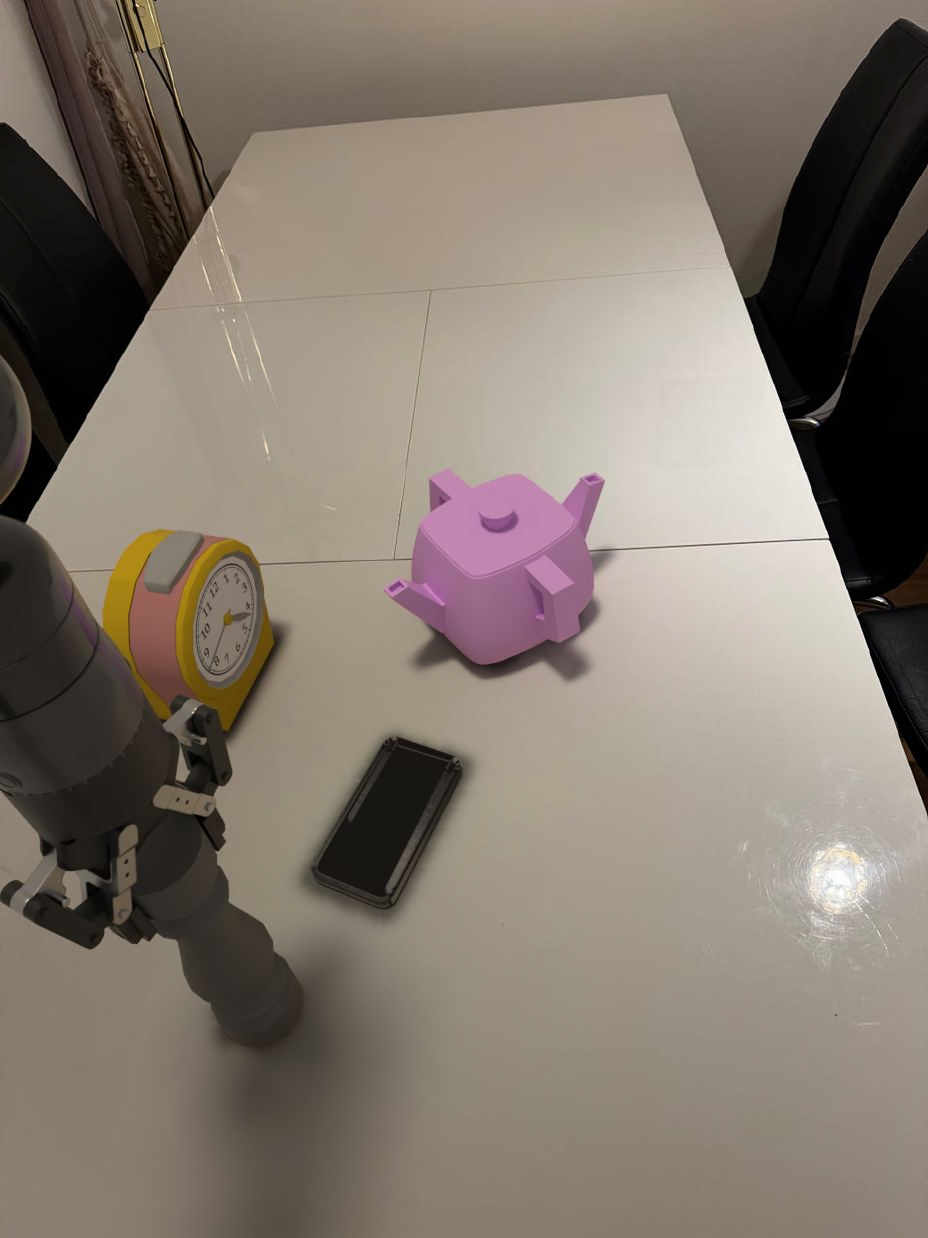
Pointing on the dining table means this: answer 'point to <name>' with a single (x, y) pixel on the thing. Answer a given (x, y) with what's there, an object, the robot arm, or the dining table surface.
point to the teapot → (501, 564)
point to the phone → (387, 822)
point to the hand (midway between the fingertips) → (176, 884)
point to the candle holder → (215, 934)
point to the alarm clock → (189, 619)
